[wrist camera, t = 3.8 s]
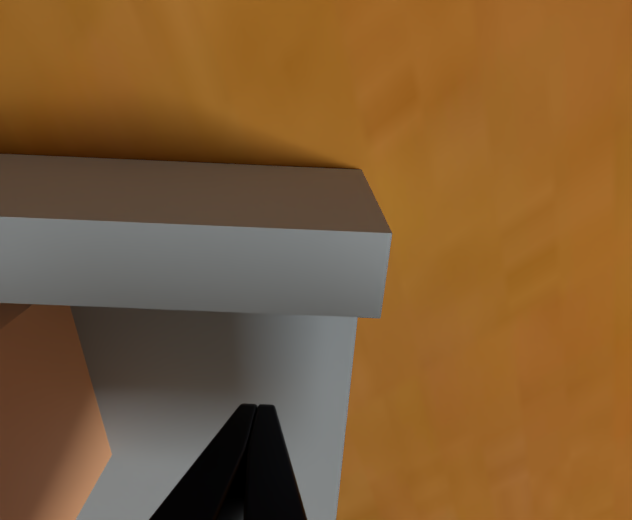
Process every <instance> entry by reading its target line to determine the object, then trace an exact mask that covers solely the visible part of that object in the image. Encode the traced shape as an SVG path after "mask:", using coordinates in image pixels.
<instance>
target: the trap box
mask: <svg viewBox="0 0 632 520" xmlns="http://www.w3.org/2000/svg"><path fill="white" fill-rule="evenodd" d="M391 238H392V232H391V230H390V228H389V226H388V224H387V222H386V220H385V217H384V215H383V213H382V211H381V209H380V207H379V205H378V203H377V201H376V199H375V197H374V195H373V193H372V190H371V188H370V186H369V184H368V182H367V180H366V178H365V176H364V174H363V172H362V170H359V169H336V168H314V167H291V166H268V165H246V164H223V163H200V162H178V161H155V160H132V159H110V158H87V157H65V156H42V155H19V154H0V303H16V304H41V305H66V306H70V308H71V311H72V315H73V318H74V322H75V325H76V329H77V333H78V336H79V340H80V343H81V347H82V350H83V354H84V357H85V361H86V364H87V368H88V371H89V375H90V378H91V382H92V386H93V389H94V393H95V396H96V400H97V403H98V407H99V410H100V414H101V417H102V421H103V424H104V428H105V431H106V435H107V439H108V442H109V446H110V449H111V453H112V456H111V457H110V459H109V461H108V463H107V465H106V466H105V468H104V470H103V472H102V473H101V475H100V477H99V479H98V481H97V482H96V484H95V486H94V488H93V490H92V491H91V493H90V495H89V497H88V498H87V500H86V502H85V504H84V506H83V507H82V509H81V511H80V513H79V515H78V516H77V518H76V520H149V519H150V517H151V516H152V515H153V514H154V512H155V511H156V510H157V509H158V507H159V506H160V505H161V503H162V502H163V501H164V500H165V498H166V497H167V496H168V495H169V493H170V492H171V491H172V490H173V488H174V487H175V486H176V485H177V483H178V482H179V481H180V479H181V478H182V477H183V476H184V474H185V473H186V472H187V471H188V469H189V468H190V467H191V466H192V464H193V463H194V462H195V461H196V459H197V458H198V457H199V456H200V454H201V453H202V452H203V450H204V449H205V448H206V447H207V445H208V444H209V443H210V442H211V440H212V439H213V438H214V437H215V435H216V434H217V433H218V432H219V430H220V429H221V428H222V426H223V425H224V424H225V423H226V421H227V420H228V419H229V418H230V416H231V415H232V414H233V413H234V411H235V410H236V409H237V408H238V406H239V405H240V404H242V403H248V404H256V405H257V406H258V405H259V404H272V405H274V406H275V408H276V411H277V415H278V418H279V422H280V425H281V429H282V432H283V436H284V439H285V443H286V446H287V450H288V453H289V457H290V460H291V464H292V467H293V471H294V474H295V478H296V481H297V485H298V488H299V492H300V495H301V499H302V502H303V506H304V509H305V513H306V516H307V520H336V514H337V505H338V495H339V486H340V476H341V467H342V458H343V448H344V439H345V430H346V420H347V411H348V402H349V392H350V383H351V373H352V364H353V355H354V345H355V336H356V327H357V317H362V318H380V317H381V310H382V303H383V296H384V288H385V281H386V274H387V267H388V259H389V252H390V245H391Z"/></svg>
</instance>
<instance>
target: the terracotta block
mask: <svg viewBox="0 0 632 520" xmlns="http://www.w3.org/2000/svg"><path fill="white" fill-rule="evenodd" d="M111 456H112V453H111V449H110V446H109V442H108V439H107V435H106V431H105V428H104V424H103V421H102V417H101V414H100V410H99V407H98V403H97V400H96V396H95V393H94V389H93V386H92V382H91V378H90V375H89V371H88V368H87V364H86V361H85V357H84V354H83V350H82V347H81V343H80V340H79V336H78V333H77V329H76V325H75V322H74V318H73V315H72V311H71V308H70V306H66V305H41V304H16V303H0V520H76V518H77V516H78V515H79V513H80V511H81V509H82V507H83V506H84V504H85V502H86V500H87V498H88V497H89V495H90V493H91V491H92V490H93V488H94V486H95V484H96V482H97V481H98V479H99V477H100V475H101V473H102V472H103V470H104V468H105V466H106V465H107V463H108V461H109V459H110V457H111Z"/></svg>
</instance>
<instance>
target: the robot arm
mask: <svg viewBox="0 0 632 520" xmlns="http://www.w3.org/2000/svg"><path fill="white" fill-rule="evenodd" d="M149 520H307V516H306V513H305V509H304V506H303V502H302V499H301V495H300V492H299V488H298V485H297V481H296V478H295V474H294V471H293V467H292V464H291V460H290V457H289V453H288V450H287V446H286V443H285V439H284V436H283V432H282V429H281V425H280V422H279V418H278V415H277V411H276V408H275V406H274V405H272V404H259V405H258V406H257V405H256V404H248V403H242V404H240V405H239V406H238V408H237V409H236V410H235V411H234V413H233V414H232V415H231V416H230V418H229V419H228V420H227V421H226V423H225V424H224V425H223V426H222V428H221V429H220V430H219V432H218V433H217V434H216V435H215V437H214V438H213V439H212V440H211V442H210V443H209V444H208V445H207V447H206V448H205V449H204V450H203V452H202V453H201V454H200V456H199V457H198V458H197V459H196V461H195V462H194V463H193V464H192V466H191V467H190V468H189V469H188V471H187V472H186V473H185V474H184V476H183V477H182V478H181V479H180V481H179V482H178V483H177V485H176V486H175V487H174V488H173V490H172V491H171V492H170V493H169V495H168V496H167V497H166V498H165V500H164V501H163V502H162V503H161V505H160V506H159V507H158V509H157V510H156V511H155V512H154V514H153V515H152V516H151V517H150V519H149Z"/></svg>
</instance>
